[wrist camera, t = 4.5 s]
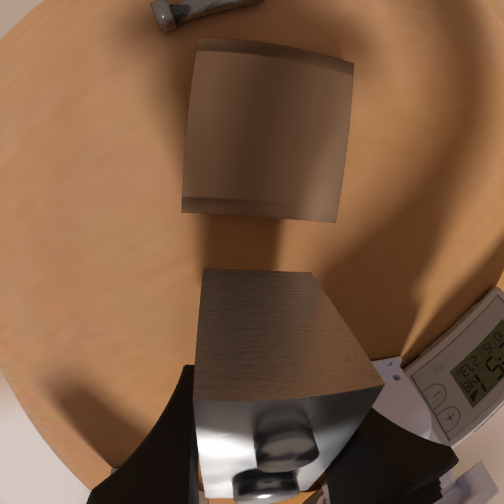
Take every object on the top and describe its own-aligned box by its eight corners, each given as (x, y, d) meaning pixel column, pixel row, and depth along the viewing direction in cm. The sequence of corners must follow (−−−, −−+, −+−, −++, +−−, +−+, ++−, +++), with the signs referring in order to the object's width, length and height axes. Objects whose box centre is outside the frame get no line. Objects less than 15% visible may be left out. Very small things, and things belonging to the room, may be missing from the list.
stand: (342, 69, 12) (353, 63, 11) (325, 216, 15) (335, 222, 14) (200, 47, 11) (198, 37, 10) (185, 206, 14) (181, 212, 13)
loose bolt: (252, -14, 10) (257, -33, 8) (265, 10, 10) (272, -8, 8) (155, 13, 10) (147, -4, 8) (165, 39, 11) (157, 23, 8)
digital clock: (497, 276, 20) (558, 322, 11) (487, 330, 24) (533, 376, 14) (390, 353, 21) (449, 438, 11) (392, 398, 25) (431, 466, 15)
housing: (310, 272, 11) (397, 403, 5) (281, 394, 14) (310, 501, 8) (203, 268, 11) (191, 427, 4) (203, 395, 14) (206, 510, 7)
